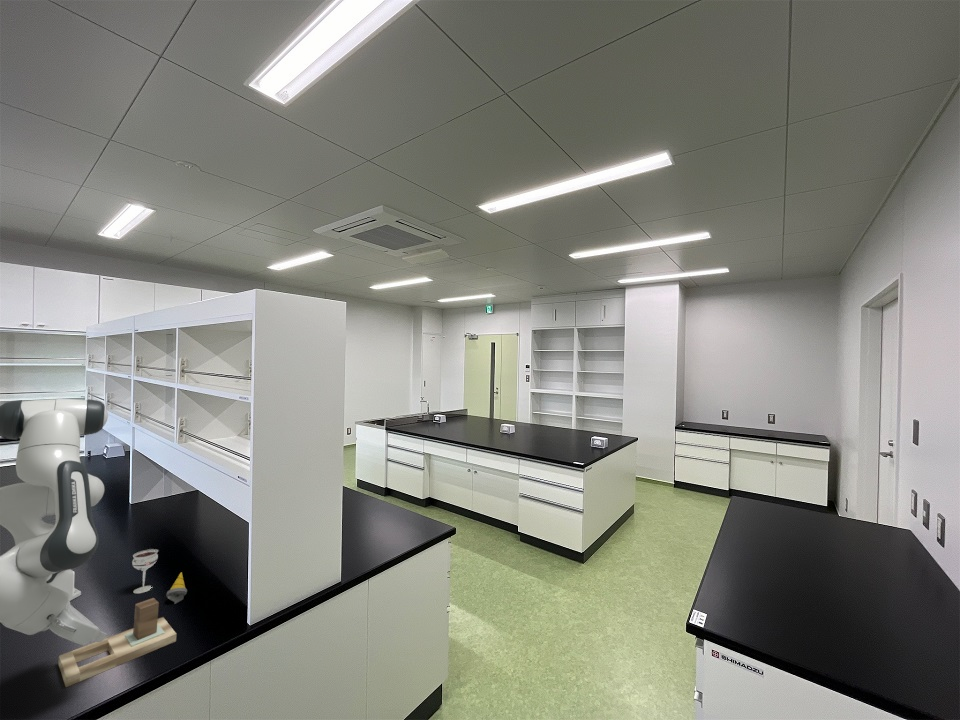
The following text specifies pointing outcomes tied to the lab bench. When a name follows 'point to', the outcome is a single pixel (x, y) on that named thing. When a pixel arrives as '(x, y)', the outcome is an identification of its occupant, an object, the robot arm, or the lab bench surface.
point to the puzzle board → (113, 652)
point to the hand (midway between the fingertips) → (95, 631)
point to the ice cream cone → (177, 590)
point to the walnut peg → (145, 618)
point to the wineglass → (144, 565)
